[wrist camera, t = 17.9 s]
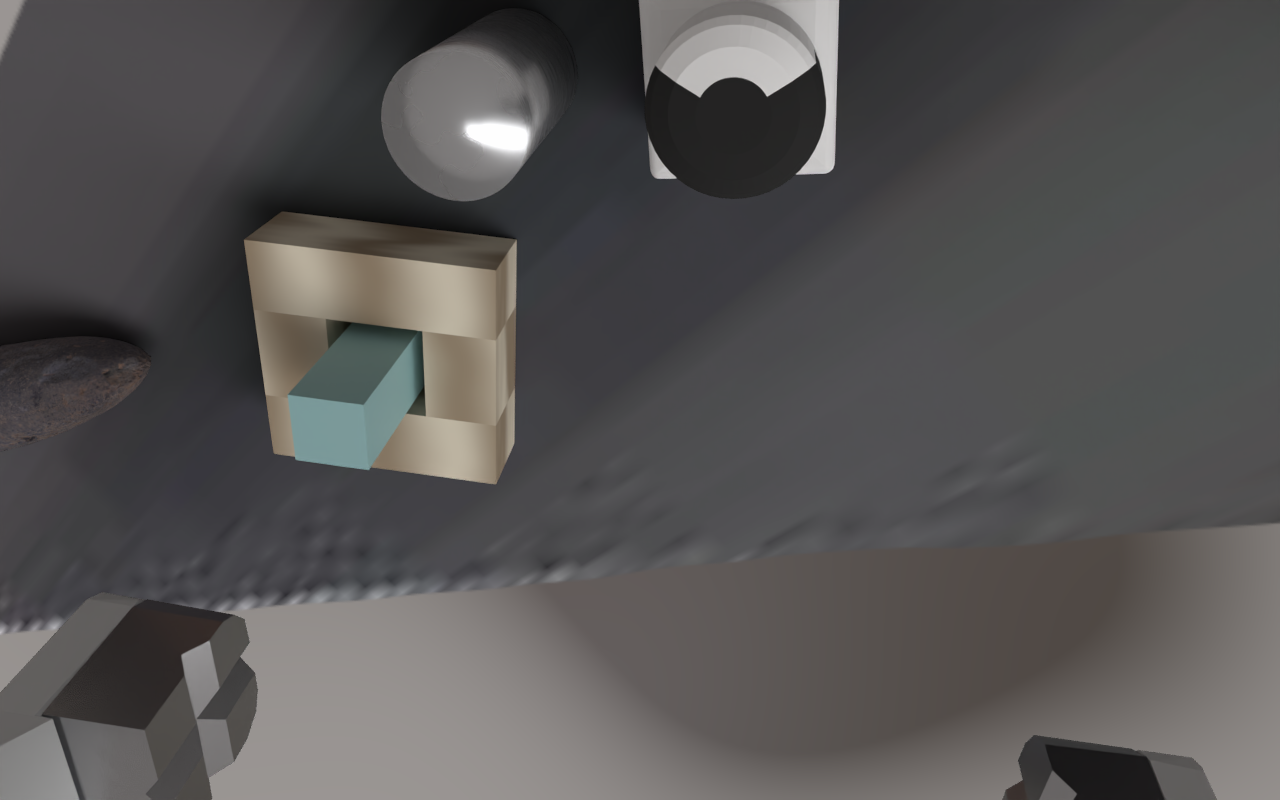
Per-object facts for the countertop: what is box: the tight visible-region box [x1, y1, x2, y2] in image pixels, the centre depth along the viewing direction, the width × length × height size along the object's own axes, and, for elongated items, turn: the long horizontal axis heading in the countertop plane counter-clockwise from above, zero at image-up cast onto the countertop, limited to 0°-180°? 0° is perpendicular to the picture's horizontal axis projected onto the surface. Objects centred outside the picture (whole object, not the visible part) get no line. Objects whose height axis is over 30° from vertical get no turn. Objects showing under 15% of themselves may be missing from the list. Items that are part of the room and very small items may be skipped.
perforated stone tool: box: [0, 336, 151, 451], centre depth 52 cm, size 15×5×7 cm, turn 103°
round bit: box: [381, 8, 578, 201], centre depth 39 cm, size 5×5×10 cm
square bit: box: [288, 322, 425, 470], centre depth 47 cm, size 3×3×10 cm
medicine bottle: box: [639, 0, 839, 199], centre depth 37 cm, size 7×7×12 cm
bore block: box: [244, 211, 517, 484], centre depth 50 cm, size 12×12×4 cm
